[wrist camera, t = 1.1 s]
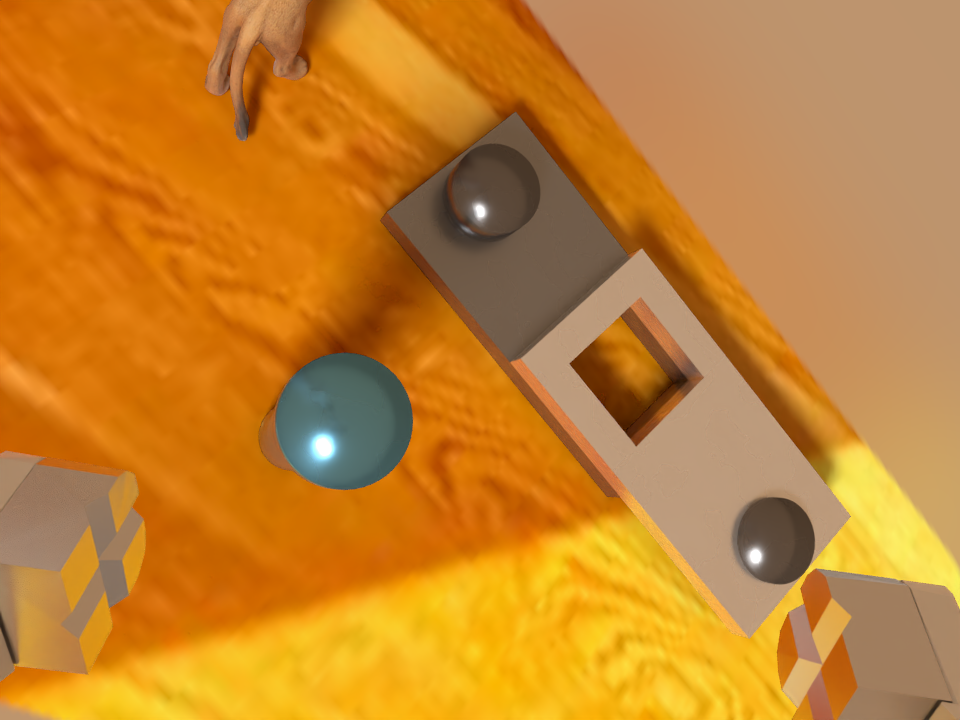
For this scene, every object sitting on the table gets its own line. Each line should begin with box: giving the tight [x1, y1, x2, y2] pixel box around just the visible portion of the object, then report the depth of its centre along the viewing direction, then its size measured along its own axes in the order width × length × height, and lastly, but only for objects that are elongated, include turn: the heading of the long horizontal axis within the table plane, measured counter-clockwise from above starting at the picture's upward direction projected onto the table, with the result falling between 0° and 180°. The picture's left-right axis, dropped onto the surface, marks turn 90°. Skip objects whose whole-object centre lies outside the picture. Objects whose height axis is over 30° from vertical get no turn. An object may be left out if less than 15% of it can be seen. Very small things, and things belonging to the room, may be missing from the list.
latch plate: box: [380, 112, 851, 638], centre depth 46 cm, size 28×9×4 cm, turn 41°
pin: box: [259, 353, 413, 490], centre depth 35 cm, size 4×4×14 cm
